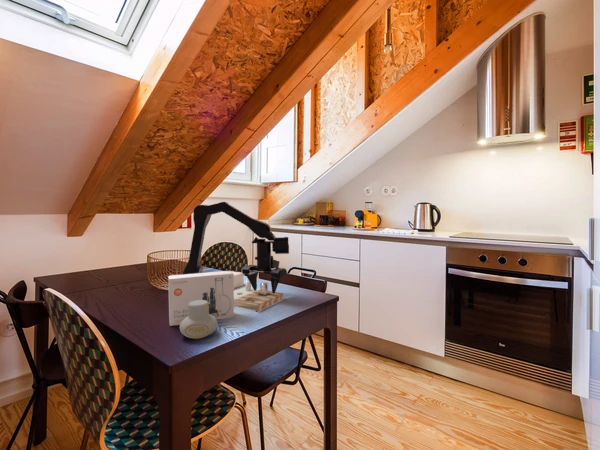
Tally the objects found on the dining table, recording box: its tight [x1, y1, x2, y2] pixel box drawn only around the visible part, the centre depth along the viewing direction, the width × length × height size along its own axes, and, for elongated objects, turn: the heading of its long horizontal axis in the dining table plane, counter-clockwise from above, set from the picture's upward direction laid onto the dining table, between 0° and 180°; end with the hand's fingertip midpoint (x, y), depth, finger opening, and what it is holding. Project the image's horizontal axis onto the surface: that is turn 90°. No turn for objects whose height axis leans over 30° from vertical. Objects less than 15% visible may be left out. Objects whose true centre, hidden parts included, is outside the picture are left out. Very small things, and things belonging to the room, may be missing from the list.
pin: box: [259, 282, 269, 296], centre depth 132 cm, size 3×3×7 cm
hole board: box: [234, 290, 285, 313], centre depth 128 cm, size 18×12×2 cm, turn 151°
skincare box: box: [167, 270, 235, 327], centre depth 110 cm, size 21×5×16 cm, turn 114°
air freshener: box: [179, 300, 219, 340], centre depth 97 cm, size 11×8×10 cm
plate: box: [234, 279, 261, 299], centre depth 142 cm, size 16×11×5 cm
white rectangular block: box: [232, 271, 244, 289], centre depth 151 cm, size 12×7×6 cm, turn 150°
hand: (264, 291), depth 132 cm, fingers open, 9 cm apart
